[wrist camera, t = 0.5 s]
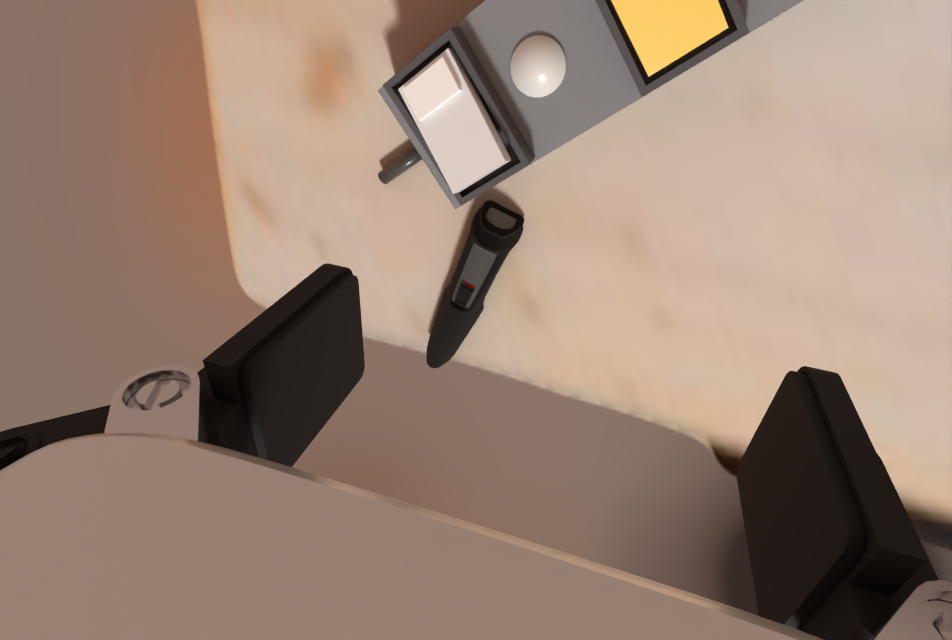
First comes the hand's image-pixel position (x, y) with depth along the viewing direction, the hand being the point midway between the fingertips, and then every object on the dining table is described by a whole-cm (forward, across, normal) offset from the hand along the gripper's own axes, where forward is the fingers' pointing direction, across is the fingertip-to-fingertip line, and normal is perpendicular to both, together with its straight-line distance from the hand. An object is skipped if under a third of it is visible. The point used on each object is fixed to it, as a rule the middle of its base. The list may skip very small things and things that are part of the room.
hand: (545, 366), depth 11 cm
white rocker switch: (+22, +10, 0) cm, 24 cm away
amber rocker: (+22, 0, -8) cm, 23 cm away
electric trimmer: (+27, +9, +14) cm, 31 cm away
